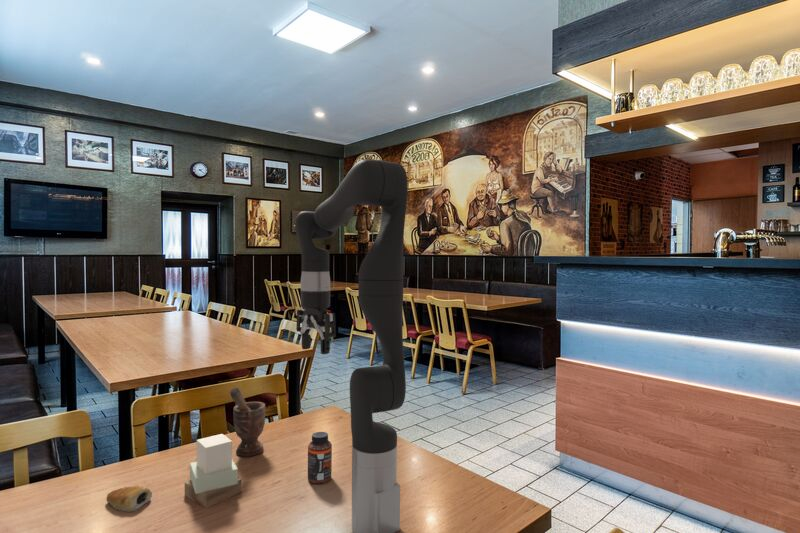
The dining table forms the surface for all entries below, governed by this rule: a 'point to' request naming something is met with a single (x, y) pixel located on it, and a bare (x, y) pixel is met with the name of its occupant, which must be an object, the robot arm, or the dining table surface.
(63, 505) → the dining table surface
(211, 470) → the cream block
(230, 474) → the upper block
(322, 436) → the supplement bottle
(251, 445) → the mortar and pestle
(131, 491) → the pastry
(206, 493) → the lower block
